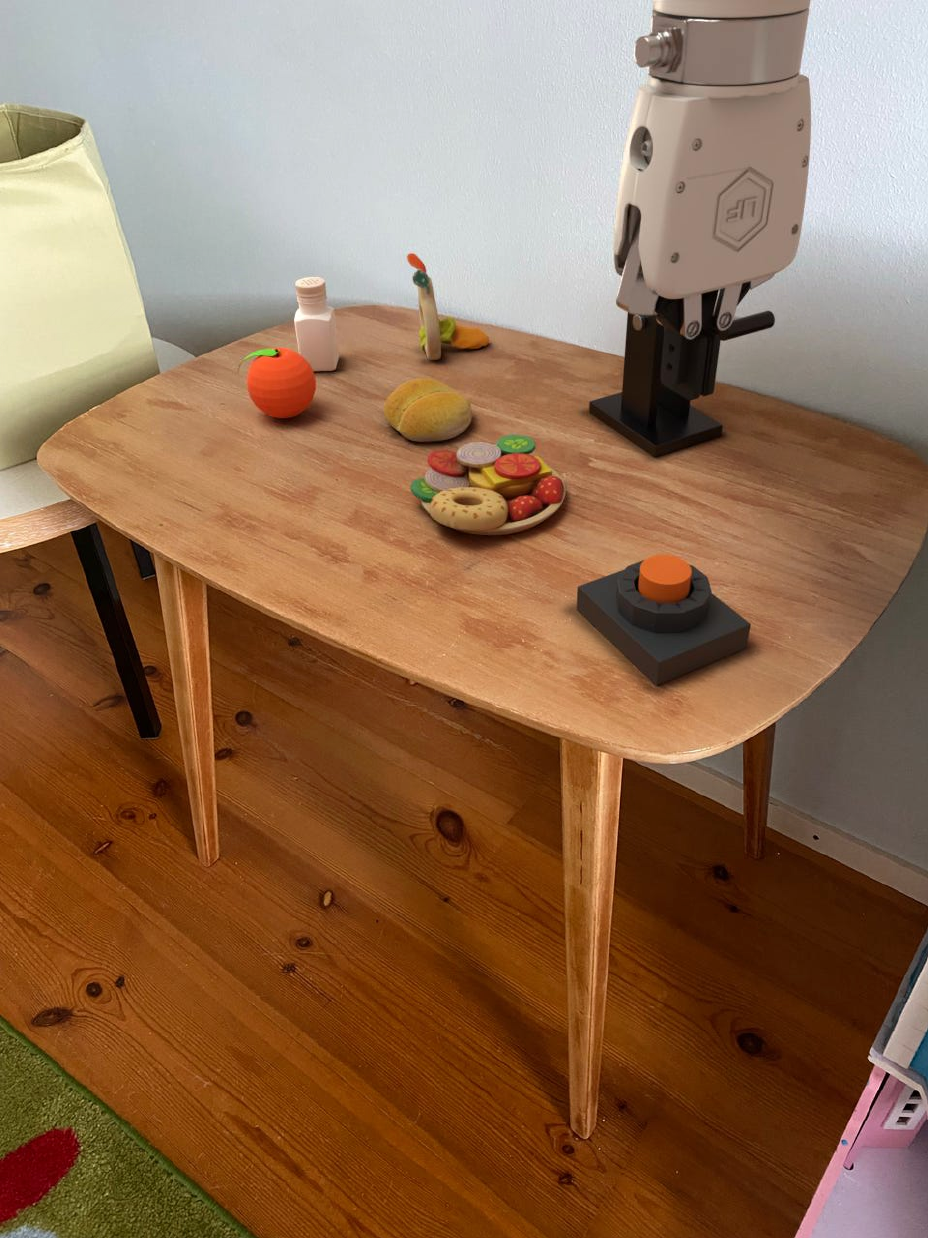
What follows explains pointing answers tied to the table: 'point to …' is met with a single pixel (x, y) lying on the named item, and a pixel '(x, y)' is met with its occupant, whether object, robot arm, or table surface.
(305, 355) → the salt shaker
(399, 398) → the bread roll
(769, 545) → the table surface
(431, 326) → the rattle
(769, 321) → the lever
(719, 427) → the bracket
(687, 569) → the button
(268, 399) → the clementine
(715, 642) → the control block
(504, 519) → the toy food set
